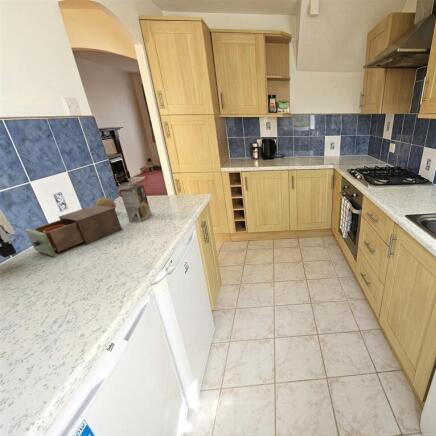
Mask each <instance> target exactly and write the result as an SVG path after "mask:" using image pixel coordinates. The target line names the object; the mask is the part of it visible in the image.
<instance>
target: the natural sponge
mask: <svg viewBox="0 0 436 436" xmlns="http://www.w3.org/2000/svg"><path fill="white" fill-rule="evenodd" d="M94 205H101V206H106V207H112V208H115V209H116V208H117V205H116V202H115V201H114V199H111V198H110V197H104V196H103V197H99V198H98V199H97V200H96V202H95V203H94Z"/></svg>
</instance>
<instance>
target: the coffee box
mask: <svg viewBox="0 0 436 436" xmlns="http://www.w3.org/2000/svg"><path fill="white" fill-rule="evenodd" d="M144 186H145V185H144V184H130V185H128V186H126V187H124V188H122V189H119V190H118V191H119V194H120V197H121V199H122V203H123V205H124V208H125V212H126V215H127V218H128V221H129V222H143V221H145V220H146V219H147V218H148V217H150V216H152V211H151V207H150V204H149V201H148V197H147V193H146V191H145V187H144Z"/></svg>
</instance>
